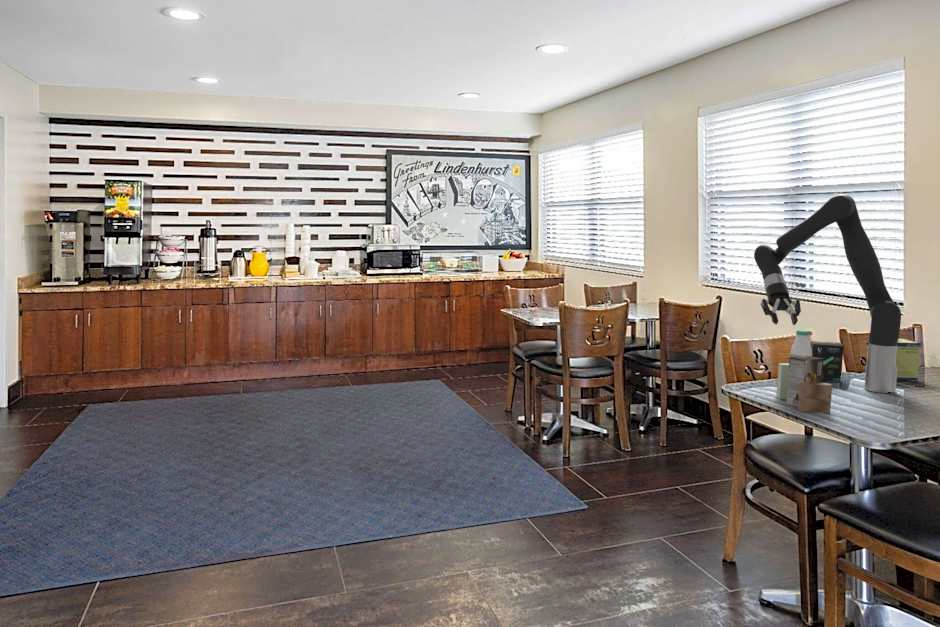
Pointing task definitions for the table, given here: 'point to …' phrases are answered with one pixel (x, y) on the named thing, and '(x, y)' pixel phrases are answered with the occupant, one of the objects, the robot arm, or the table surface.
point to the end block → (814, 397)
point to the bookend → (782, 380)
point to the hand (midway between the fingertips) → (785, 323)
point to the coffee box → (802, 375)
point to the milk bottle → (801, 344)
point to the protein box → (907, 359)
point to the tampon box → (829, 359)
